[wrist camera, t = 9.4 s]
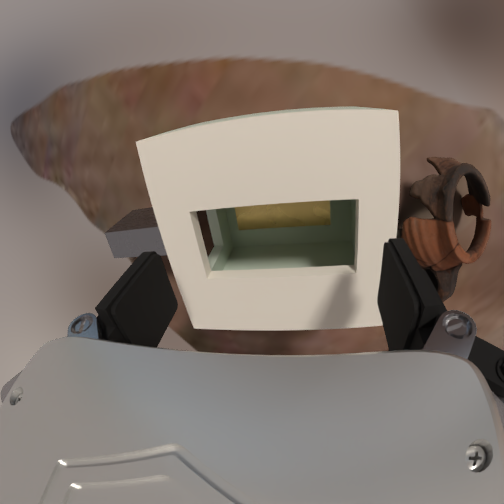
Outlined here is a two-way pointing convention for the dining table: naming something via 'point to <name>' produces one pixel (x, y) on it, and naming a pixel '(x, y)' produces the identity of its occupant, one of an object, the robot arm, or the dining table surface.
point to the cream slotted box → (274, 192)
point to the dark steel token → (136, 235)
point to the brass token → (283, 215)
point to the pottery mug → (446, 223)
